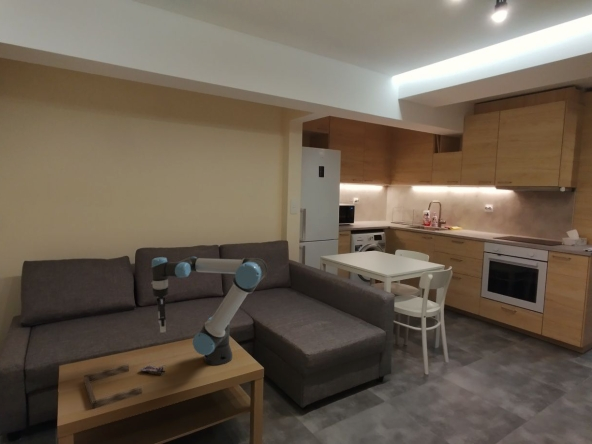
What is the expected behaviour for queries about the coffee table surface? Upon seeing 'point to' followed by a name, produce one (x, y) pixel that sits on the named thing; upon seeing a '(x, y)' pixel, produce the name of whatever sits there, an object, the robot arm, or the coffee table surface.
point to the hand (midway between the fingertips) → (162, 327)
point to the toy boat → (154, 370)
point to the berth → (112, 398)
